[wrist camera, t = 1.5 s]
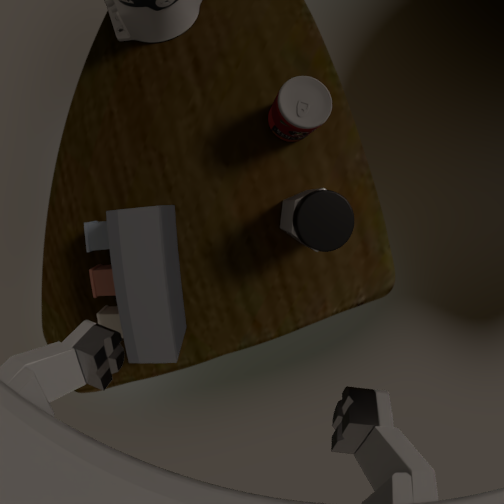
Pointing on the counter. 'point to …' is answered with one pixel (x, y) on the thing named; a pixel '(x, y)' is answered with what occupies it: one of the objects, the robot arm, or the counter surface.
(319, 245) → the jar
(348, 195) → the counter surface
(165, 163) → the counter surface
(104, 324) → the ivory key
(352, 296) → the counter surface
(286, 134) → the canned food
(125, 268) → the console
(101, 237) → the blue-grey key
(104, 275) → the brick key
